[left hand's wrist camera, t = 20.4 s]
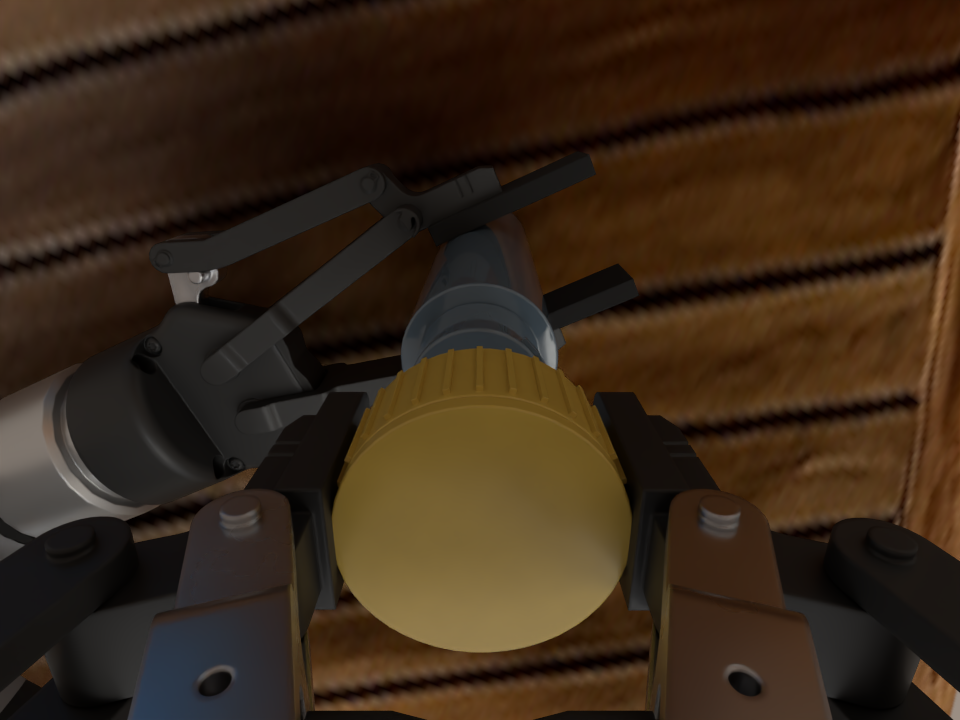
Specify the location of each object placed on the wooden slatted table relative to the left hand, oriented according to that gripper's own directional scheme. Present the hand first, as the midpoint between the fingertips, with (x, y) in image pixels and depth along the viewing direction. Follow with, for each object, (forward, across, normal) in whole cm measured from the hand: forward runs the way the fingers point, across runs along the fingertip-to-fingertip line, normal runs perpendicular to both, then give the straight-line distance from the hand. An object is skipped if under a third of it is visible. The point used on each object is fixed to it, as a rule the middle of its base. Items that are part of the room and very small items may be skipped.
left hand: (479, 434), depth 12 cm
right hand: (+13, -5, -2) cm, 14 cm away
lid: (-3, 0, 0) cm, 3 cm away
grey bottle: (+19, 0, 0) cm, 19 cm away
